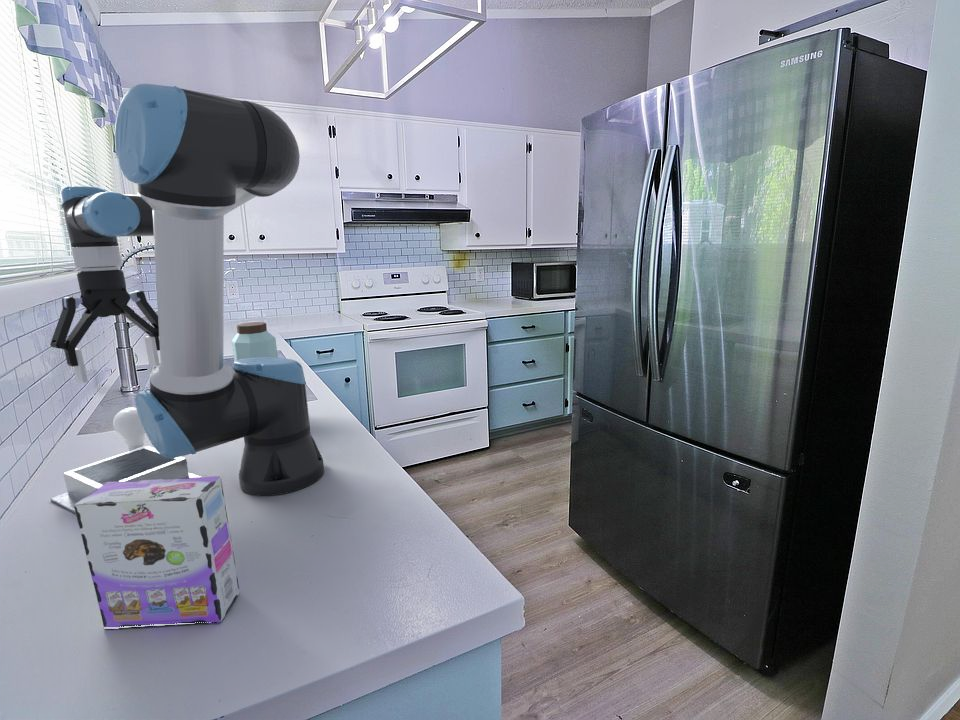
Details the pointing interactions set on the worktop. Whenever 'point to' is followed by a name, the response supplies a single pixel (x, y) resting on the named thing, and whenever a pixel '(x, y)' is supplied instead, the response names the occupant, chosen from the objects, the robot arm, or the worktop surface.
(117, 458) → the flange
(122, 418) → the lightbulb
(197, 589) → the candy box
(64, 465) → the worktop surface
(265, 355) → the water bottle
